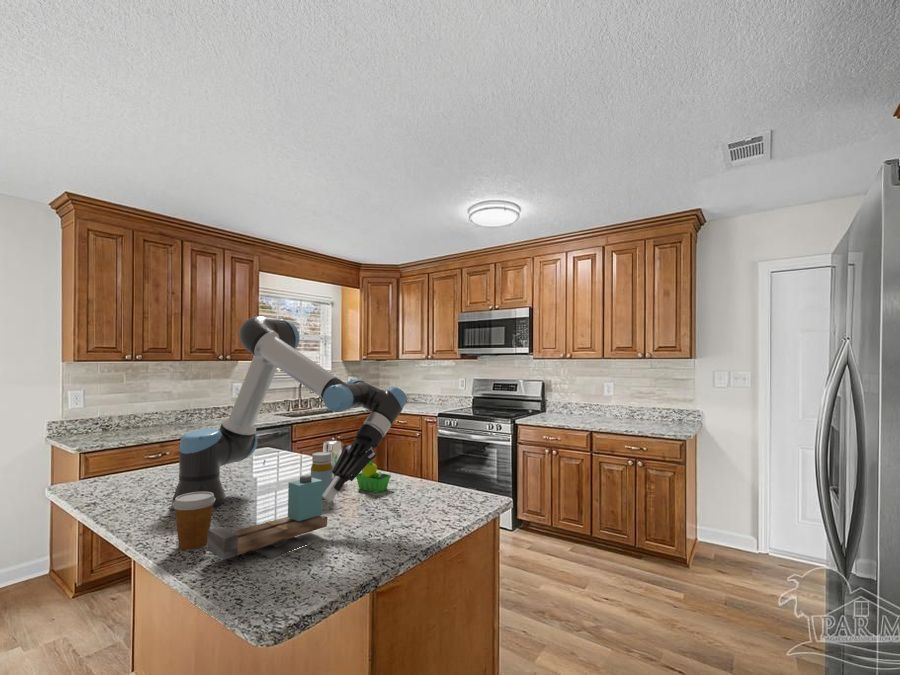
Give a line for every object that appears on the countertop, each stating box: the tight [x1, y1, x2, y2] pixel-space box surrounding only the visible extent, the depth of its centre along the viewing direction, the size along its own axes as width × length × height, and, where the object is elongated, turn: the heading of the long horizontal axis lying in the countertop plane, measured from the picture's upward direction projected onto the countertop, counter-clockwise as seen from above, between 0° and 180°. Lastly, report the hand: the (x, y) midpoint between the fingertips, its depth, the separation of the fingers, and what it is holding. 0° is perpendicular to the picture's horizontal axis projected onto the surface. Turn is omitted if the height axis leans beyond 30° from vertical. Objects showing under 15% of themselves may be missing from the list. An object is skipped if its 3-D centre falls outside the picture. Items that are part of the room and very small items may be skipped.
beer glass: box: [322, 440, 342, 479], centre depth 180 cm, size 7×7×15 cm
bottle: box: [310, 451, 332, 500], centre depth 158 cm, size 7×7×15 cm
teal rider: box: [287, 474, 323, 521], centre depth 123 cm, size 7×5×12 cm
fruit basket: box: [355, 460, 392, 493], centre depth 169 cm, size 11×9×11 cm
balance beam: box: [206, 514, 328, 561], centre depth 116 cm, size 27×12×7 cm, turn 140°
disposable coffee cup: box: [173, 492, 216, 550], centre depth 118 cm, size 10×10×12 cm
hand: (326, 499), depth 128 cm, fingers closed
